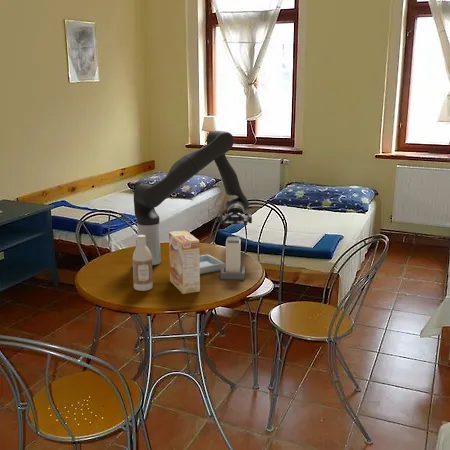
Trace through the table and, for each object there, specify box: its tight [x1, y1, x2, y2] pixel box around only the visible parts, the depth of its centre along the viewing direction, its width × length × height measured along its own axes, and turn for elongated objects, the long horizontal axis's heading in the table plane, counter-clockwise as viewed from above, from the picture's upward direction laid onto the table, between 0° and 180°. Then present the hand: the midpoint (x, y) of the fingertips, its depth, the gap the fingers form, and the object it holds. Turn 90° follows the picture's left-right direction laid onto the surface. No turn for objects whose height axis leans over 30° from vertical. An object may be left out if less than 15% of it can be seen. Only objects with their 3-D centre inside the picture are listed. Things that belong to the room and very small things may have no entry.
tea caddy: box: [225, 236, 242, 273], centre depth 214 cm, size 6×6×15 cm
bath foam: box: [132, 235, 154, 292], centre depth 199 cm, size 7×7×20 cm
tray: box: [200, 254, 226, 275], centre depth 224 cm, size 14×14×3 cm
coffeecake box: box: [168, 230, 201, 295], centre depth 201 cm, size 15×7×20 cm, turn 23°
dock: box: [220, 265, 246, 281], centre depth 215 cm, size 8×9×2 cm
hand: (234, 222), depth 222 cm, fingers open, 8 cm apart
